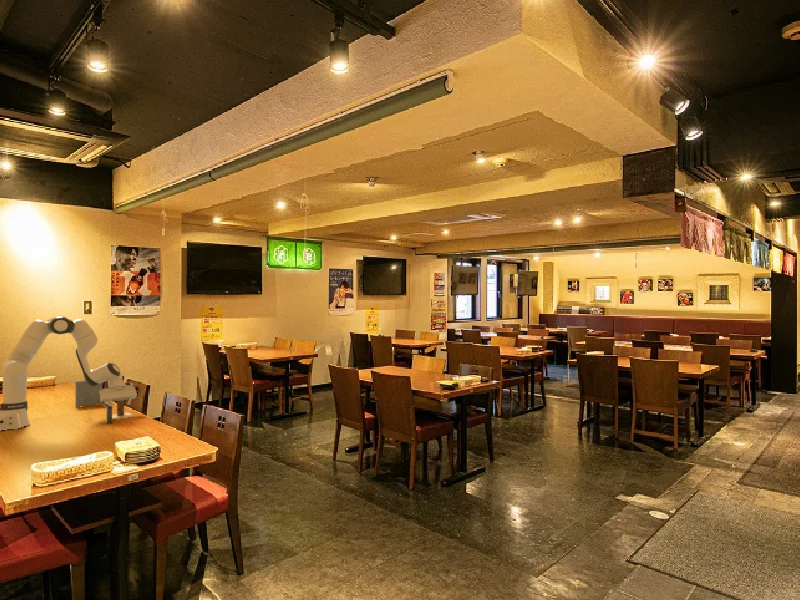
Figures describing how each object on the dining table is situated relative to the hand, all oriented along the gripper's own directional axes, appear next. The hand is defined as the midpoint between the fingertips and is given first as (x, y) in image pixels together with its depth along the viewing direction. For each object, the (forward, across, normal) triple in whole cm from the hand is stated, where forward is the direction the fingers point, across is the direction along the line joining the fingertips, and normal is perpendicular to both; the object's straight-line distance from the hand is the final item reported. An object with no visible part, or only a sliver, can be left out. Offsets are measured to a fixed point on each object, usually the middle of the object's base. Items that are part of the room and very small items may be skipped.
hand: (120, 405), depth 320 cm
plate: (+5, 0, +6) cm, 7 cm away
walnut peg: (+4, 0, +5) cm, 6 cm away
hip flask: (-33, -7, +44) cm, 56 cm away
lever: (+9, -9, +2) cm, 13 cm away
